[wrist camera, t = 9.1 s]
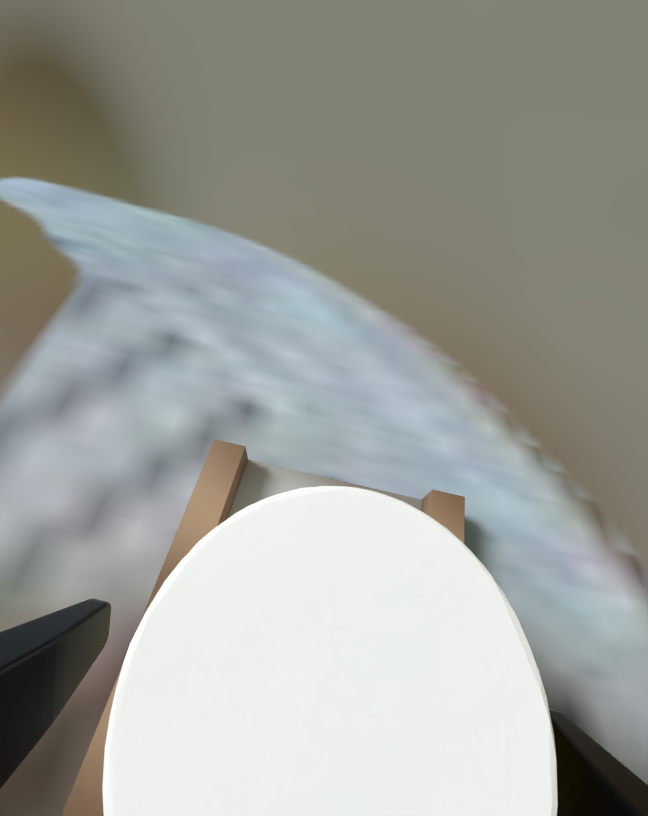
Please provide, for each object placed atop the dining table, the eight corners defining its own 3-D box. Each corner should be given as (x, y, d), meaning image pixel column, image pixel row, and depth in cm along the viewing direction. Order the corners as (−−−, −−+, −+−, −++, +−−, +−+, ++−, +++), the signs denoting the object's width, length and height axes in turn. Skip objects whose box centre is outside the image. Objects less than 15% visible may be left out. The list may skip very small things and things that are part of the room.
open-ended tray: (434, 1026, 11) (462, 1102, 9) (40, 921, 11) (-4, 975, 9) (448, 508, 19) (464, 496, 17) (220, 456, 19) (214, 439, 17)
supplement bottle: (387, 573, 16) (592, 465, 6) (374, 773, 13) (853, 1547, 2) (241, 545, 17) (157, 384, 6) (189, 737, 13) (-301, 1314, 2)
